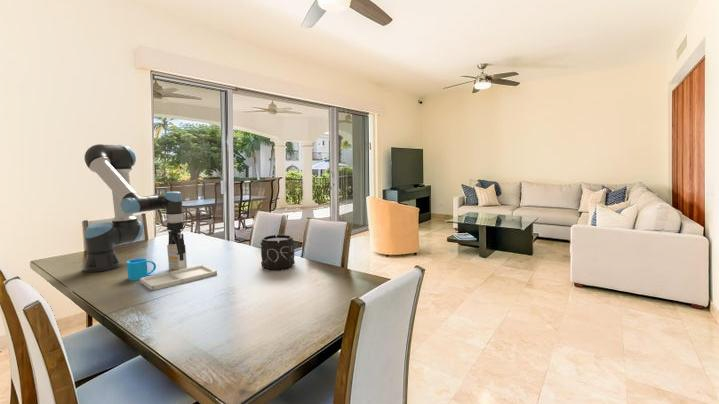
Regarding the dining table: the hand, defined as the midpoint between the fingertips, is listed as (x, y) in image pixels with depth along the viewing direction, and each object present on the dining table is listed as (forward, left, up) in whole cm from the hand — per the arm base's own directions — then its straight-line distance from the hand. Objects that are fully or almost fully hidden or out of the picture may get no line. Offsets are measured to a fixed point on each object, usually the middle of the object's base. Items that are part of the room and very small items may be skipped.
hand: (177, 264), depth 182 cm
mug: (-1, -16, -3) cm, 16 cm away
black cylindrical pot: (+35, +38, -3) cm, 52 cm away
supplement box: (0, 0, -3) cm, 3 cm away
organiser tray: (+16, -5, -2) cm, 17 cm away
